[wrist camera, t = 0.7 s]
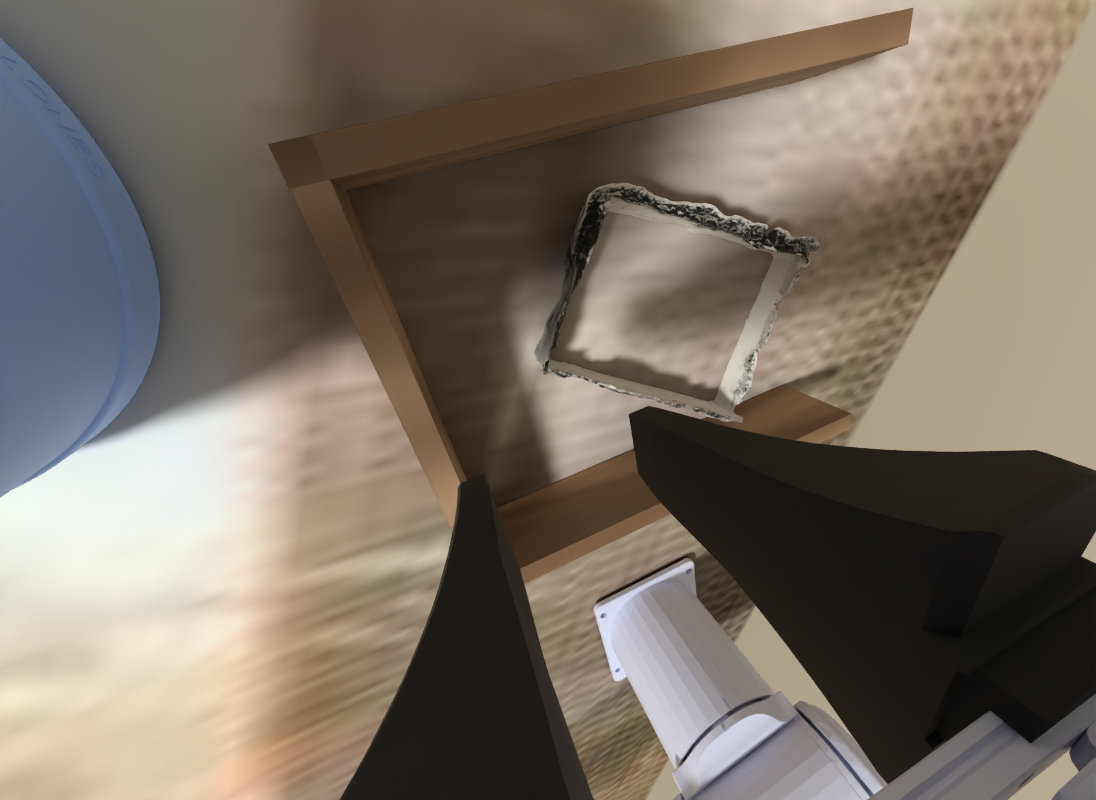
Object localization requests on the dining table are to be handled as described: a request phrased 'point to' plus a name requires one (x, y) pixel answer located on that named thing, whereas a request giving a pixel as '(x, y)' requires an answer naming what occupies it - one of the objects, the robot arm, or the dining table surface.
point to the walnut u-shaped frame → (513, 123)
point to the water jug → (64, 281)
